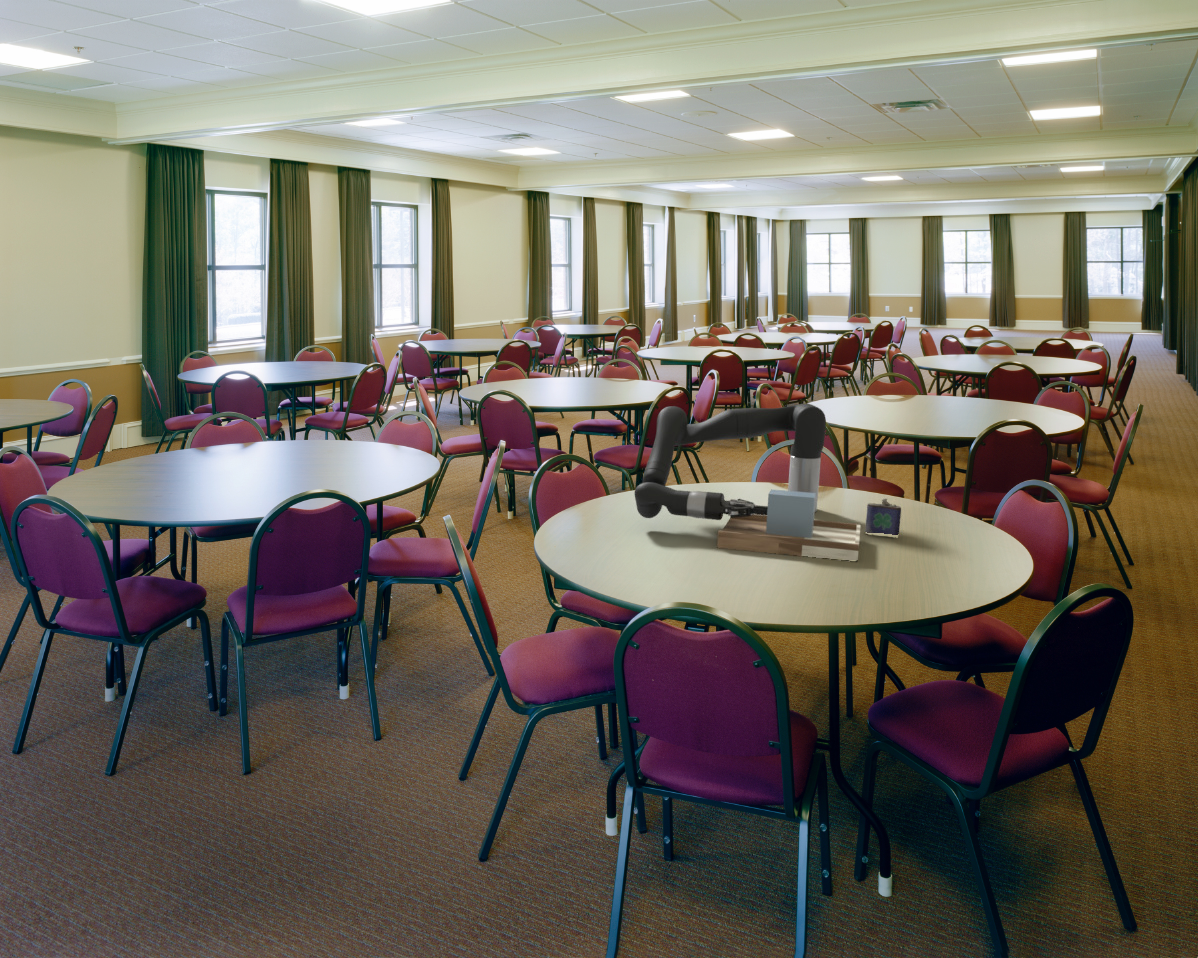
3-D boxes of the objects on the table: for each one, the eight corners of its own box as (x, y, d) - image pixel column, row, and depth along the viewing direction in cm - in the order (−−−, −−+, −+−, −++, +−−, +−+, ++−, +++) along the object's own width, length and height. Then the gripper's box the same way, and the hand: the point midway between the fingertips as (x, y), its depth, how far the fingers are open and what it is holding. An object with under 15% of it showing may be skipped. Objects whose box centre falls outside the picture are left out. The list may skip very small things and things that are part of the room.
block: (768, 528, 245) (771, 489, 243) (813, 532, 242) (815, 493, 240) (766, 533, 240) (768, 493, 238) (811, 538, 236) (814, 497, 234)
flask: (864, 534, 252) (867, 498, 250) (865, 532, 255) (869, 496, 253) (898, 539, 249) (901, 502, 246) (899, 536, 251) (903, 499, 249)
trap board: (730, 527, 257) (730, 512, 256) (859, 539, 247) (860, 524, 246) (717, 547, 236) (718, 531, 235) (857, 562, 226) (859, 545, 225)
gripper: (701, 497, 240) (766, 502, 235) (710, 487, 252) (772, 492, 247) (700, 524, 241) (764, 530, 236) (709, 512, 253) (770, 518, 249)
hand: (768, 510), depth 242 cm, fingers closed
